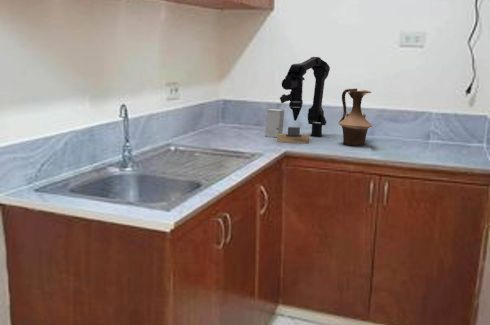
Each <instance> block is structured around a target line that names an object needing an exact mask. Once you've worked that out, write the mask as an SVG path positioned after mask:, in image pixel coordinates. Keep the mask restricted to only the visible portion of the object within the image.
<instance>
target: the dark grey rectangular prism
mask: <svg viewBox="0 0 490 325" xmlns="http://www.w3.org/2000/svg"><path fill="white" fill-rule="evenodd" d="M287 134H288V136H290V137H300V134H301V127H300V126H288V127H287Z"/></svg>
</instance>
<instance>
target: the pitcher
mask: <svg viewBox="0 0 490 325" xmlns="http://www.w3.org/2000/svg"><path fill="white" fill-rule="evenodd" d="M347 93H348V95H349V96H350V98H351V99H352V108H351V110H350V112H351V113H350V114H349V115H348V116H347V117H346V113H347V103H346V94H347ZM367 94H372V91H370V90H358V88H347V89H345V90H343V91H342V93H341V102H342V109H343V114H342V117H341V119H340V120H339V121H337V122H338V123H337V124H338V125H339V126H341V129H342V143H343V145H347V146H353V147H364V146H365V145H366V138H367V134H368V130H369V128H371V127H374V126H373V124H372V123H370V122H369V121H368V120H367V119H366V117H365V118H364V116H363V115H362V113H363V112H362V100H363V98H364V96H366V95H367Z"/></svg>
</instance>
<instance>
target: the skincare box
mask: <svg viewBox="0 0 490 325" xmlns="http://www.w3.org/2000/svg"><path fill="white" fill-rule="evenodd" d="M284 117H285V110H283V109H276V108H267V110H266V118H265V119H266V120H265V130H264V135H265V137H271V138H277V137H278V135H279V133H282V134H283V132H284V130H283V129H284V120H285V118H284Z"/></svg>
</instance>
